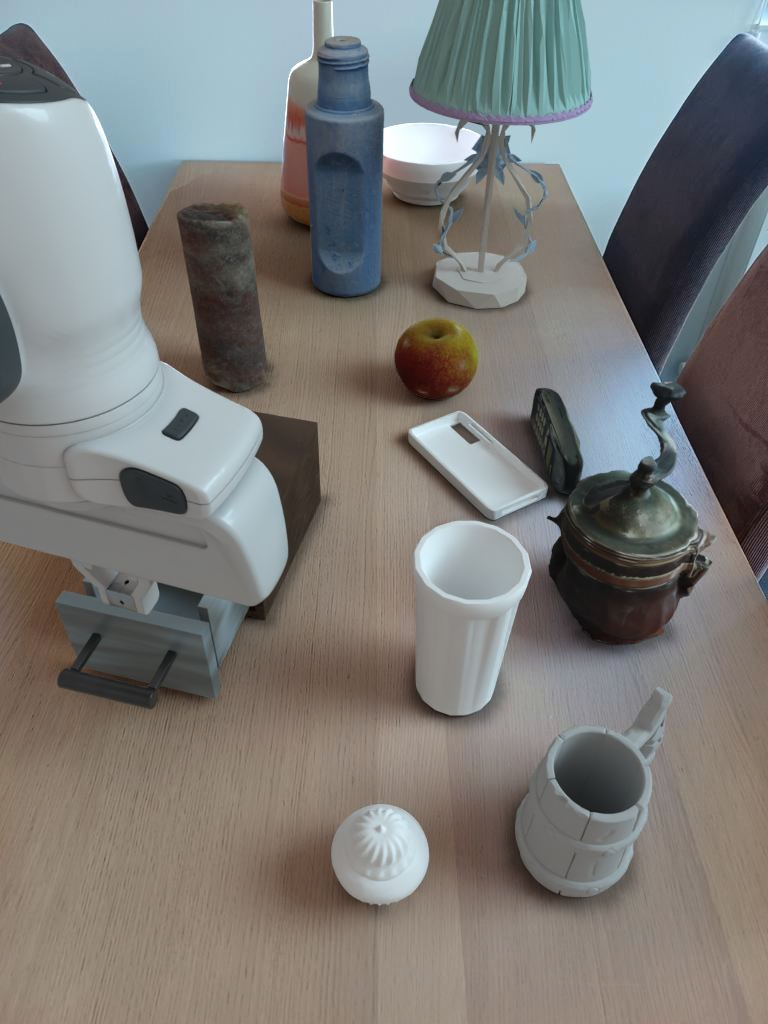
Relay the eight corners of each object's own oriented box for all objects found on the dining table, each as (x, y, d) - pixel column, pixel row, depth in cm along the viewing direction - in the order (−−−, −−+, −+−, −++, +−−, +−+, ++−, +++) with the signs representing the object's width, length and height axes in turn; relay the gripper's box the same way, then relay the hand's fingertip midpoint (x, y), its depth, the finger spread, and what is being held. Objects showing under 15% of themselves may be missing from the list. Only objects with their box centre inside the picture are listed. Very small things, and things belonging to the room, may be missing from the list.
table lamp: (542, 252, 120) (596, -76, 93) (570, 326, 105) (646, -43, 77) (397, 251, 120) (409, -81, 92) (404, 326, 104) (421, -48, 76)
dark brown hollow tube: (190, 381, 94) (161, 212, 80) (227, 352, 98) (206, 188, 85) (244, 400, 91) (224, 229, 77) (280, 369, 96) (266, 202, 82)
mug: (488, 842, 54) (511, 748, 46) (592, 737, 60) (629, 638, 52) (580, 930, 50) (623, 844, 42) (681, 808, 57) (736, 713, 48)
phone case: (405, 439, 86) (490, 522, 77) (405, 429, 86) (492, 512, 76) (460, 418, 89) (549, 496, 80) (461, 408, 89) (551, 486, 79)
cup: (502, 737, 60) (529, 615, 51) (395, 719, 61) (402, 596, 51) (508, 651, 66) (534, 527, 56) (411, 636, 67) (420, 511, 57)
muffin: (397, 944, 50) (401, 899, 45) (314, 894, 52) (309, 845, 47) (442, 857, 54) (450, 807, 49) (362, 814, 56) (363, 762, 51)
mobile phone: (531, 384, 86) (567, 471, 75) (558, 383, 87) (598, 470, 75) (524, 422, 90) (558, 511, 78) (551, 421, 90) (588, 509, 79)
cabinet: (265, 620, 68) (255, 540, 62) (129, 590, 70) (105, 509, 64) (321, 500, 79) (317, 422, 73) (202, 477, 81) (188, 399, 75)
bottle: (386, 269, 115) (392, 31, 95) (373, 302, 108) (377, 53, 88) (321, 262, 116) (313, 25, 96) (304, 295, 109) (292, 46, 89)
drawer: (189, 753, 58) (172, 690, 53) (47, 717, 60) (16, 653, 54) (280, 565, 72) (273, 500, 66) (162, 540, 73) (146, 475, 68)
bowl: (506, 194, 136) (513, 143, 131) (431, 228, 126) (434, 174, 120) (421, 163, 146) (423, 115, 140) (344, 192, 135) (343, 141, 130)
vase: (333, 191, 135) (328, -16, 115) (391, 219, 128) (397, 2, 108) (263, 214, 128) (245, -3, 108) (321, 245, 120) (313, 17, 100)
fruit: (379, 396, 92) (381, 335, 87) (411, 358, 98) (415, 299, 93) (457, 419, 89) (464, 357, 84) (485, 378, 95) (493, 318, 90)
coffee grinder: (673, 546, 76) (733, 385, 63) (683, 673, 65) (758, 510, 53) (537, 524, 77) (570, 364, 65) (525, 645, 67) (562, 481, 54)
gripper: (-143, 414, 40) (-46, 598, 49) (237, 504, 36) (263, 685, 45) (-56, 350, 44) (17, 529, 54) (291, 422, 40) (304, 603, 49)
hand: (132, 601), depth 49 cm, fingers closed
